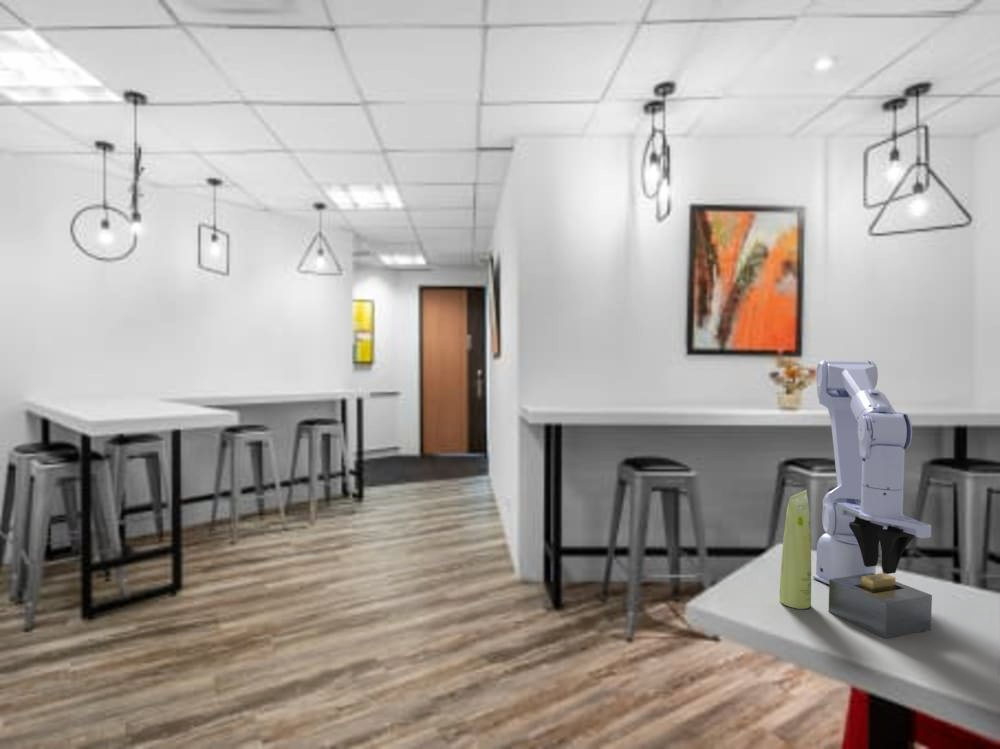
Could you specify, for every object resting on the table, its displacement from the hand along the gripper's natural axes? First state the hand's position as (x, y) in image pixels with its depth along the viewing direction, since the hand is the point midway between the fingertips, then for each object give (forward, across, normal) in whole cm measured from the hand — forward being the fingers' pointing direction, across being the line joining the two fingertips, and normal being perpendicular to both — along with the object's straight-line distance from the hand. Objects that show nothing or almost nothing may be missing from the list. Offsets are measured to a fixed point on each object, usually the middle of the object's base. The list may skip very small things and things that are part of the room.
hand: (879, 569), depth 94 cm
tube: (+9, -9, -8) cm, 15 cm away
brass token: (+5, 0, 0) cm, 5 cm away
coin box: (+8, 0, 0) cm, 8 cm away
